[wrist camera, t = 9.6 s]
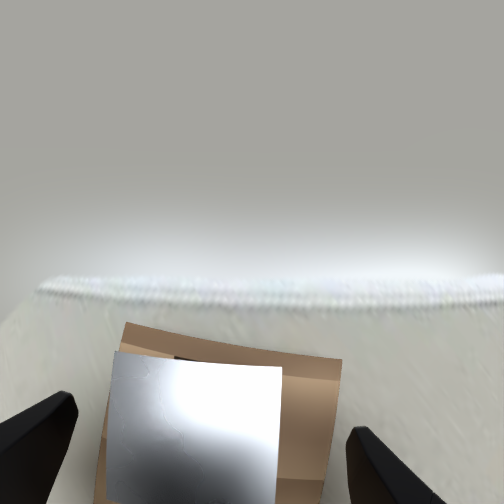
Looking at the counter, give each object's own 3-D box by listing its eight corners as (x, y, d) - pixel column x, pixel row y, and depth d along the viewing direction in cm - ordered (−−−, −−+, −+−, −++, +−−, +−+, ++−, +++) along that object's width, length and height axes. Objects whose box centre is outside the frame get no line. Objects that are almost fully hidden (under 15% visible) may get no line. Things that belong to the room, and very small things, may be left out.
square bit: (252, 442, 16) (272, 522, 4) (191, 437, 16) (106, 499, 4) (255, 385, 17) (282, 367, 6) (195, 380, 17) (114, 350, 6)
